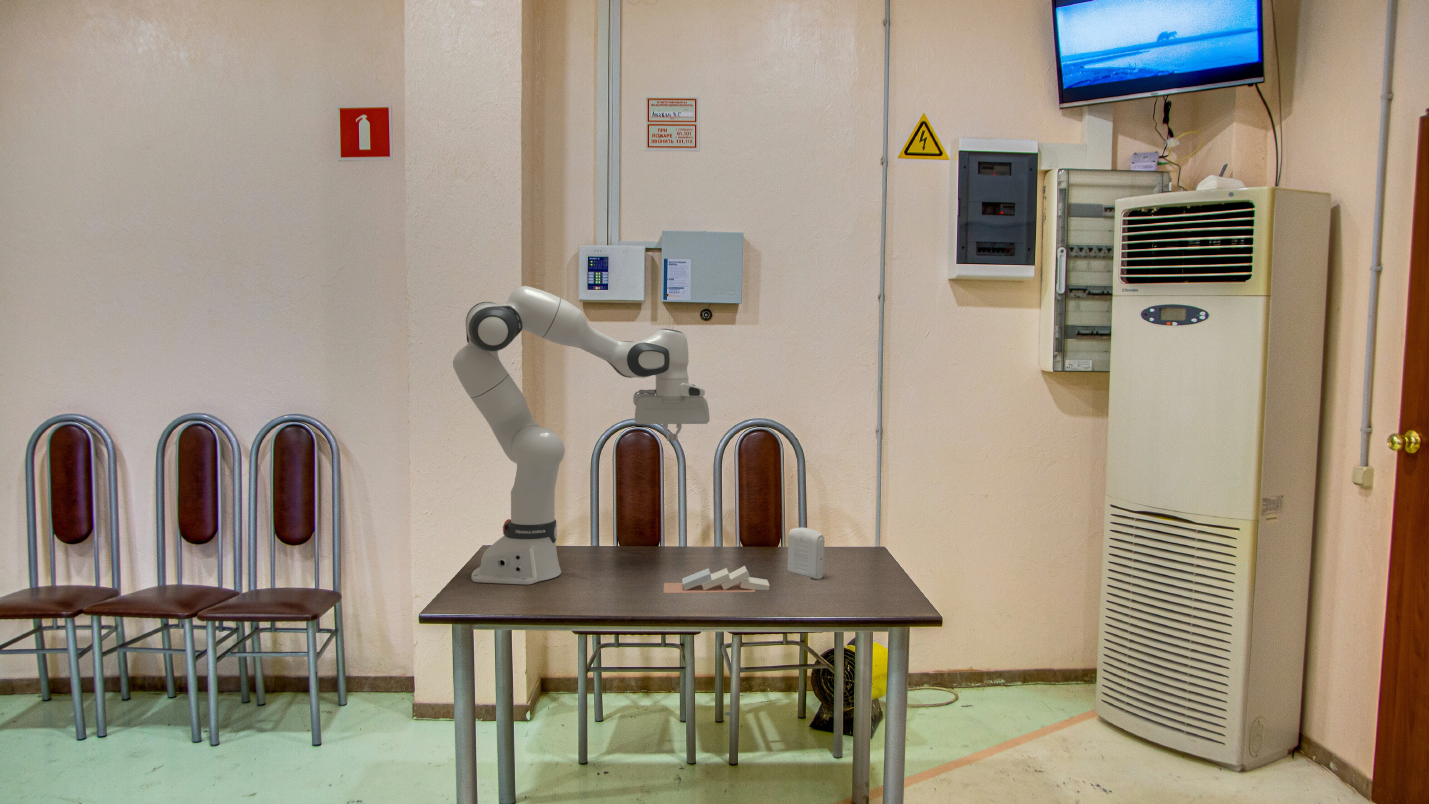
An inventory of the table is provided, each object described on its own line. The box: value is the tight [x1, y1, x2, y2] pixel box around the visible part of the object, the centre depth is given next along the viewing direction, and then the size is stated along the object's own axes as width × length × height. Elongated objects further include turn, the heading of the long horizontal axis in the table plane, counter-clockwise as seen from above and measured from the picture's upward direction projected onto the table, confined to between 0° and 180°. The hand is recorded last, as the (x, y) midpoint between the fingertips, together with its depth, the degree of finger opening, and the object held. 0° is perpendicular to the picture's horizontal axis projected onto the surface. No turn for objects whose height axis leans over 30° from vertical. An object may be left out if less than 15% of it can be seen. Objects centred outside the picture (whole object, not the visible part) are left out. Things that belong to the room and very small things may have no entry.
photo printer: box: [787, 527, 826, 580], centre depth 205 cm, size 10×4×12 cm, turn 47°
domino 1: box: [681, 567, 712, 590], centre depth 192 cm, size 2×5×7 cm
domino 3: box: [721, 565, 751, 590], centre depth 192 cm, size 2×5×7 cm
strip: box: [663, 582, 756, 594], centre depth 192 cm, size 22×8×1 cm, turn 93°
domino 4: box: [739, 576, 771, 591], centre depth 192 cm, size 2×5×7 cm
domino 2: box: [701, 567, 731, 590], centre depth 192 cm, size 2×5×7 cm
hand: (672, 440), depth 212 cm, fingers closed
